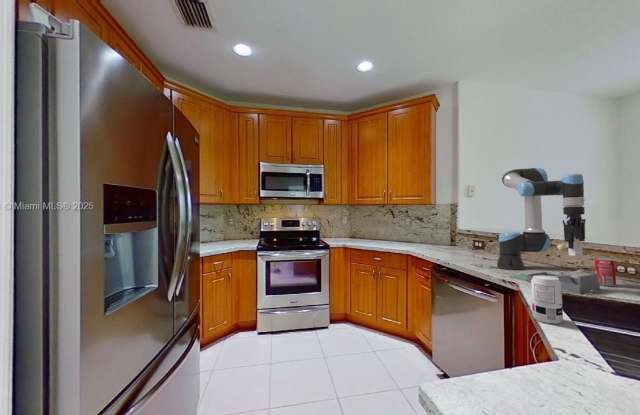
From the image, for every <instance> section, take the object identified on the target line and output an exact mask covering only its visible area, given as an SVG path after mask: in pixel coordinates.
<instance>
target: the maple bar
mask: <svg viewBox="0 0 640 415" xmlns="http://www.w3.org/2000/svg"><path fill="white" fill-rule="evenodd" d="M574 242H576V245H579V244H581V242H580V241H579V239H575V240H574ZM556 247H557V249H558V250H559V251H565V250H567V249H568V242H567V241H565V242H563V243H560V244H558V245H556Z"/></svg>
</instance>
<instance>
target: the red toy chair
mask: <svg viewBox="0 0 640 415" xmlns="http://www.w3.org/2000/svg"><path fill="white" fill-rule="evenodd" d="M595 273H597V274H598V282H600V286H601V287H607V288H608V287H611V288H612V287H615V286H617V276H616V273H617V272H616V262H615V261H614V258H605V257H596V258H595V260H594V274H595Z"/></svg>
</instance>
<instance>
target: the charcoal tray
mask: <svg viewBox="0 0 640 415" xmlns="http://www.w3.org/2000/svg"><path fill="white" fill-rule="evenodd" d="M526 275H527V281H526V282H527V283H530V284H531V280H532V278H533V276H535V275H545V276H558V275H559V274H557V273H550V272H547V271H540V272H535V273H528V274H526ZM559 281H560V282H561V286H562V291H566V292H571V293H576V294H584V293H588V292H587V291H590V292H592V291H591V290H595V291H599V290H598V289H600V286H601V285H600V282H598V274H597V273H595V272H594V273H591V274H584V275H579V276H577V277H574V276H570V277H564V278H559Z"/></svg>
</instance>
